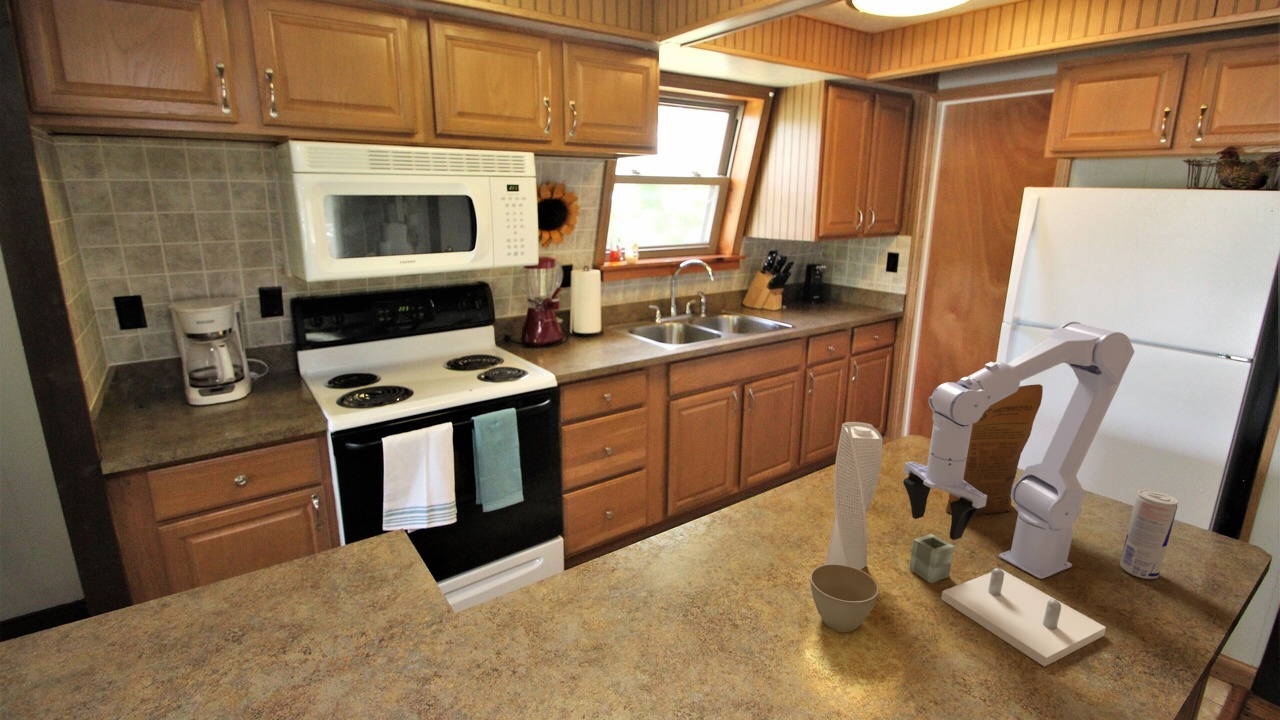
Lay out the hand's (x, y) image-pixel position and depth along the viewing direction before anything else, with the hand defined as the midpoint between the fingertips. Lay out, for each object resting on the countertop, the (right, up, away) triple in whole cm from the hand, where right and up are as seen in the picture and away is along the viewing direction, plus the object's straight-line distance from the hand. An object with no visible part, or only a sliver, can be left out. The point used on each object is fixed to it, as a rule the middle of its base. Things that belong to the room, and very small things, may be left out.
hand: (936, 527), depth 109 cm
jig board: (+9, -12, -9) cm, 17 cm away
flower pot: (-20, -12, -11) cm, 26 cm away
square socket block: (0, -9, +2) cm, 9 cm away
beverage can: (+38, -9, +4) cm, 40 cm away
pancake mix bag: (+22, -3, +25) cm, 33 cm away
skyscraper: (-14, -8, +4) cm, 17 cm away
